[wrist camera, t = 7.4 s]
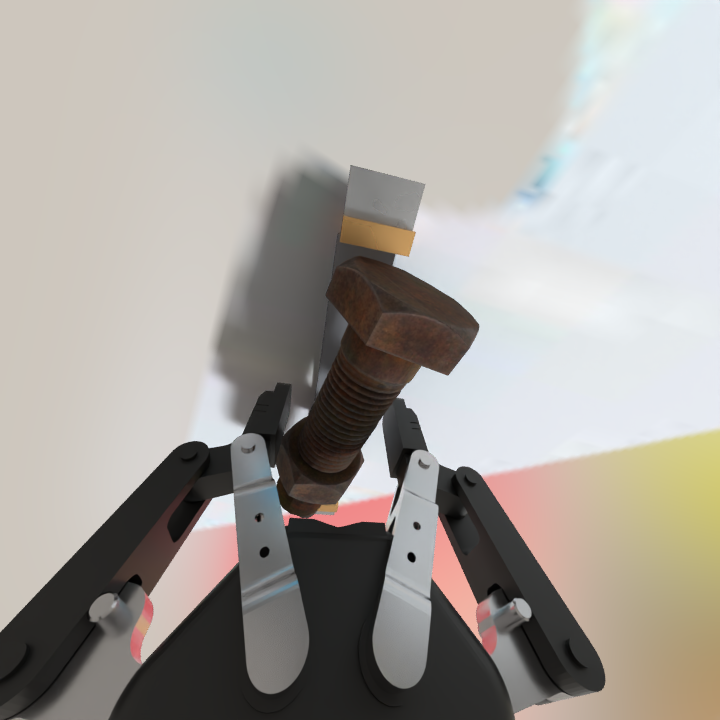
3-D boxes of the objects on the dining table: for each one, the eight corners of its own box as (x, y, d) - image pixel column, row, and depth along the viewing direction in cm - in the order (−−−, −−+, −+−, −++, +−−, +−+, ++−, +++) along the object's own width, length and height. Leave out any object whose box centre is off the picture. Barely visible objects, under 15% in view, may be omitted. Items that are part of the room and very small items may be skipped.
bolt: (296, 444, 20) (386, 256, 12) (349, 487, 19) (482, 312, 11) (232, 506, 15) (315, 253, 7) (299, 568, 14) (476, 352, 6)
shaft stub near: (350, 173, 11) (350, 163, 8) (407, 187, 11) (429, 183, 8) (341, 231, 12) (339, 242, 9) (393, 242, 12) (408, 256, 9)
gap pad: (337, 233, 12) (337, 233, 11) (396, 245, 12) (397, 246, 12) (306, 459, 20) (306, 462, 20) (341, 462, 21) (341, 465, 20)
